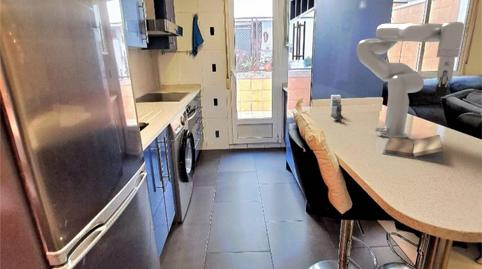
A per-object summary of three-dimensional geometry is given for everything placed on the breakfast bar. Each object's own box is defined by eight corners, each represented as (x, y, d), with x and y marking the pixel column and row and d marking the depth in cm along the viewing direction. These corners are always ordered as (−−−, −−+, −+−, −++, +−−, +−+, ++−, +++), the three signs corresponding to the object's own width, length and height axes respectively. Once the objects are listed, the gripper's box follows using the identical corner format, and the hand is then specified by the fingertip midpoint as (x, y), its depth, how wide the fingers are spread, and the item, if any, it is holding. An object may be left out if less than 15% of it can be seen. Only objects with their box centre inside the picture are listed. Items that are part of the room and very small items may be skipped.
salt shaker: (335, 119, 183) (336, 101, 180) (344, 121, 180) (345, 102, 176) (331, 121, 179) (333, 103, 175) (340, 122, 175) (342, 103, 172)
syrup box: (330, 116, 192) (332, 95, 188) (329, 114, 198) (330, 94, 194) (339, 116, 191) (341, 95, 187) (337, 115, 197) (339, 94, 193)
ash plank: (414, 156, 116) (413, 153, 116) (415, 143, 132) (414, 140, 132) (443, 150, 110) (441, 146, 110) (440, 137, 127) (439, 134, 127)
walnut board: (385, 152, 122) (385, 149, 121) (389, 140, 138) (390, 137, 138) (411, 156, 117) (412, 153, 116) (413, 143, 133) (413, 140, 133)
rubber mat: (382, 153, 122) (382, 153, 121) (387, 140, 139) (387, 139, 139) (444, 163, 110) (444, 162, 110) (441, 147, 128) (441, 146, 128)
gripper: (461, 53, 109) (452, 98, 114) (456, 53, 123) (448, 93, 128) (438, 54, 113) (430, 97, 118) (436, 53, 127) (429, 92, 132)
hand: (440, 94), depth 123 cm, fingers open, 8 cm apart
